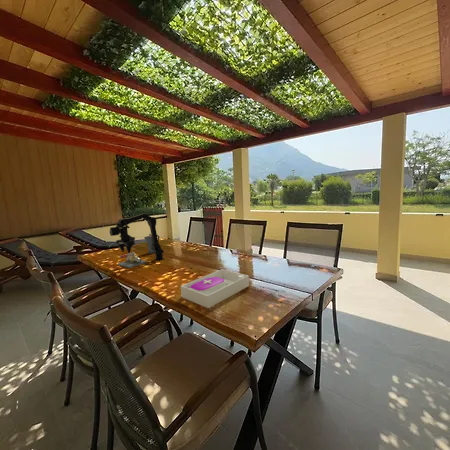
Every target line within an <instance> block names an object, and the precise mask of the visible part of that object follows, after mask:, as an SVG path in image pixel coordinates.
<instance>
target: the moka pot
mask: <svg viewBox="0 0 450 450" xmlns="http://www.w3.org/2000/svg"><path fill="white" fill-rule="evenodd" d="M143 239H144V241H146V244H147V248H148V251H147V252H148V254H151V255H152V254H155V253H154V251H153V250H152V249H151V245H152V243H153V242H152V236H151V233H149V235H147V236H144V237H143ZM157 239H158V243H159V242H160V236H159V235H158V234H157Z"/></svg>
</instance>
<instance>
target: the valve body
mask: <svg viewBox="0 0 450 450" xmlns="http://www.w3.org/2000/svg"><path fill="white" fill-rule="evenodd" d="M125 258H126V259H125V260H126V261H130V262H131V263H134V262H135V263H141V260H142V258H139V256H138V255H131V256H127V257H125Z"/></svg>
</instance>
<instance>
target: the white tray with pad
mask: <svg viewBox="0 0 450 450" xmlns="http://www.w3.org/2000/svg"><path fill="white" fill-rule="evenodd" d="M249 281H250V279H249V275H248V274H243V273H239V272H236V271H231V270H227V269H223V268H221V269H218V270H217V271H214V272H212V273H209V274H207V275H204V276H201V277H200V278H196V279H195V280H192V281H190V282H187V283H185V284H182V285H180V293H181V298H183V299H185V300H188V301H190V302H192V303H194V304H197V305H200V306H202V307H205V308H207V309H209V308H211V307H213V306H215V305H217V304H219V303H220V302H222V301H224V300H226V299H228V298H230V297H232V296H234V295H235V294H237V293H239V292H240V291H242V290H245V289H246V288H247V287H249V286H250V282H249Z"/></svg>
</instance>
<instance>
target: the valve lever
mask: <svg viewBox="0 0 450 450" xmlns="http://www.w3.org/2000/svg"><path fill="white" fill-rule="evenodd" d="M132 255H135V252H134V251H133V252H130V253H125V254H121V255H119V259H124V258H126V257H127V256H132Z"/></svg>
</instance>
